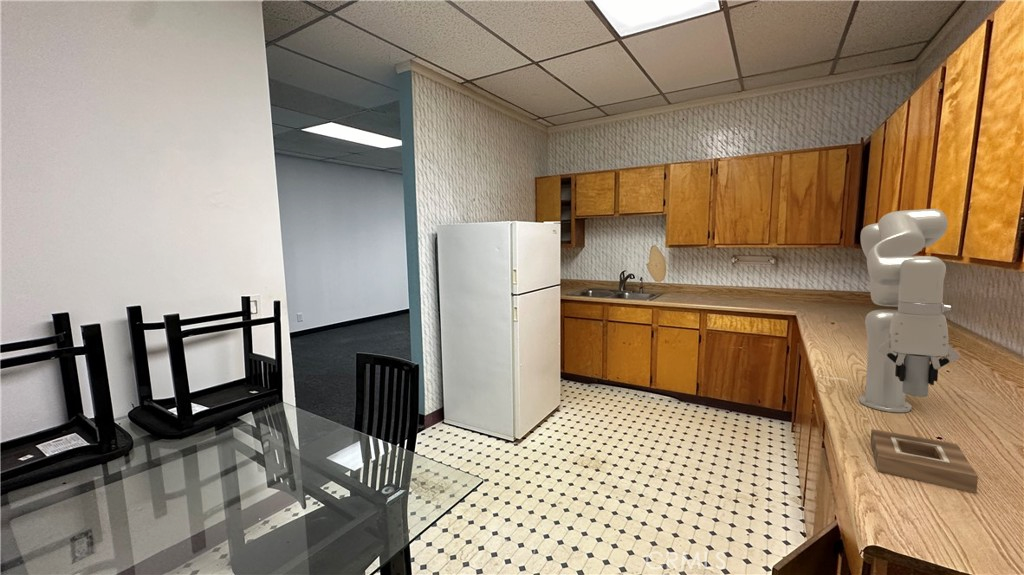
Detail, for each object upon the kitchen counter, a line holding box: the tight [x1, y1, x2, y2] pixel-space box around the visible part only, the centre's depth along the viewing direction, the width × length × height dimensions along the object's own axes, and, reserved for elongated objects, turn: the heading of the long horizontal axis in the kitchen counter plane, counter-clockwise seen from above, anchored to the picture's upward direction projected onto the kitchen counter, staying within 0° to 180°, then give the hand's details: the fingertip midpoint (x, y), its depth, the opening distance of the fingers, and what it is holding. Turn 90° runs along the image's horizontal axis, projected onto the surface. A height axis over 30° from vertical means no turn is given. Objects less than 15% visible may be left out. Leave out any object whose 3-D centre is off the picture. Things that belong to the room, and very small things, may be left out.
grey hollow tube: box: [902, 354, 931, 398], centre depth 100 cm, size 4×4×10 cm
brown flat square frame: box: [870, 428, 979, 494], centre depth 98 cm, size 16×16×4 cm
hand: (915, 380), depth 100 cm, fingers closed on grey hollow tube, 4 cm apart
